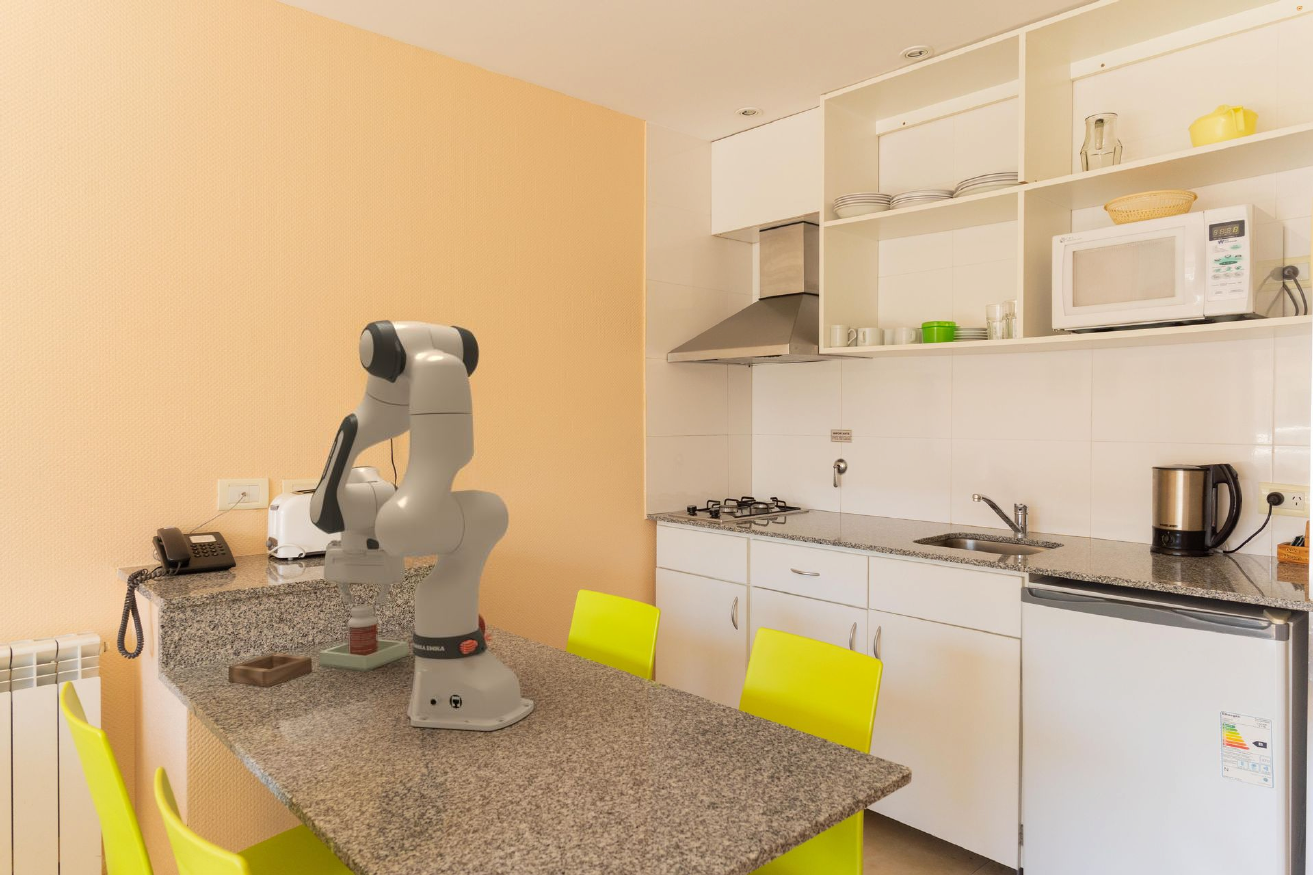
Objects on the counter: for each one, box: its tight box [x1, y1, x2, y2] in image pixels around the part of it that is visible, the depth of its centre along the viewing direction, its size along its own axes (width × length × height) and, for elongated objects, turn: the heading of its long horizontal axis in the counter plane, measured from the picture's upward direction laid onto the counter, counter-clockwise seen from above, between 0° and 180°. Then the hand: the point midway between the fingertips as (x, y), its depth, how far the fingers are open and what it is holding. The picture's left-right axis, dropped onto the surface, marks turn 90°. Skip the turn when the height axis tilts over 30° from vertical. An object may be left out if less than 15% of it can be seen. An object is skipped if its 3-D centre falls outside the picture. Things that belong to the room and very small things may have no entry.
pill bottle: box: [347, 605, 379, 656], centre depth 178 cm, size 6×6×11 cm
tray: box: [318, 638, 409, 672], centre depth 178 cm, size 13×13×3 cm
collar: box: [228, 652, 313, 688], centre depth 167 cm, size 11×11×3 cm
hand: (364, 603), depth 178 cm, fingers open, 8 cm apart
